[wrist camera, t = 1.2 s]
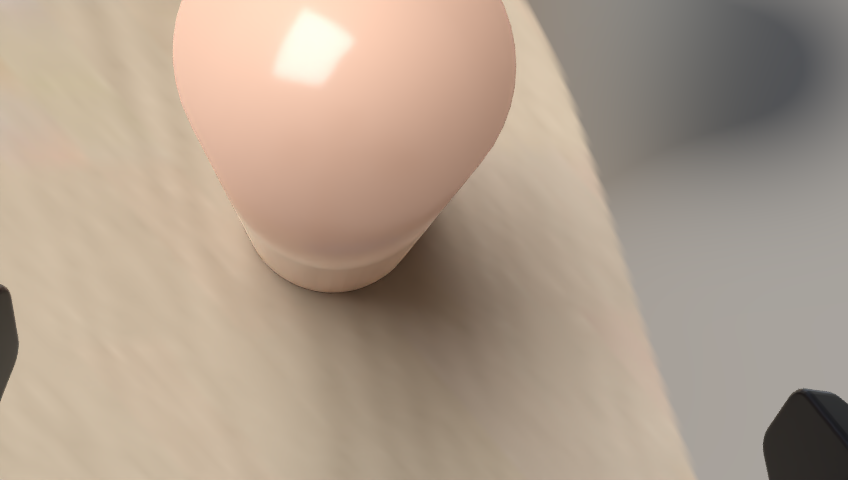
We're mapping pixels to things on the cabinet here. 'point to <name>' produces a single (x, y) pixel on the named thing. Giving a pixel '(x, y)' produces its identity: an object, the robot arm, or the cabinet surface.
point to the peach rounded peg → (342, 120)
